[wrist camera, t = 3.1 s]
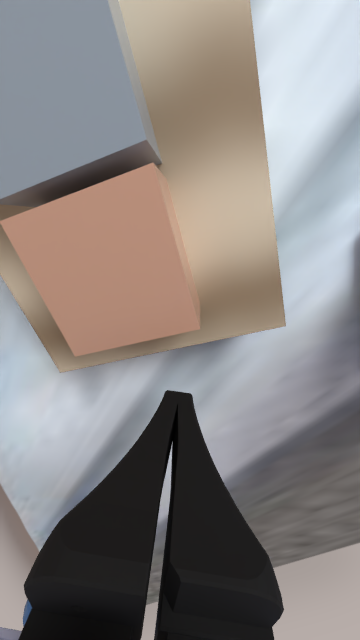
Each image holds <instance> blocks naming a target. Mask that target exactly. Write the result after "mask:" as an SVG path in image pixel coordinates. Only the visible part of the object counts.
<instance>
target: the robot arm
mask: <svg viewBox="0 0 360 640" xmlns="http://www.w3.org/2000/svg"><path fill="white" fill-rule="evenodd" d="M172 441H173V445H172ZM171 446H172V472H171V494H170V505H169V514H168V523H167V532H166V541H165V550H164V558H163V567H162V576H161V585H160V593H159V602H158V611H157V620H156V628H155V637H154V640H274V636H273V630H272V626H273V625H274V624H275V623H276V622H277V620H279V619H280V617H281V615H282V613H283V610H284V608H283V603H282V597H281V593H280V590H279V586H278V583H277V580H276V576H275V573H274V570H273V567H272V564H271V562H270V559H269V556H268V554H267V553H266V551H265V550H264V548H263V547H262V545H261V544H260V543H259V541H258V540H257V538H256V537H255V535H254V533H253V532H252V530H251V529H250V527H249V526H248V524H247V523H246V521H245V519H244V518H243V516H242V514H241V513H240V511H239V510H238V508H237V506H236V504H235V503H234V501H233V499H232V497H231V495H230V494H229V492H228V490H227V488H226V487H225V485H224V483H223V481H222V479H221V477H220V475H219V473H218V471H217V469H216V467H215V465H214V462H213V460H212V458H211V456H210V453H209V451H208V449H207V446H206V443H205V441H204V438H203V435H202V433H201V430H200V426H199V423H198V420H197V417H196V413H195V409H194V404H193V397H192V395H191V394H190V393H183V392H176V391H169V390H167V391H166V392H165V394H164V397H163V399H162V401H161V403H160V405H159V407H158V409H157V411H156V413H155V414H154V416H153V418H152V419H151V421H150V423H149V424H148V426H147V427H146V429H145V430H144V431H143V433H142V434H141V436H140V437H139V439H138V440H137V441H136V443H135V444H134V445H133V447H132V448H131V449H130V450H129V452H128V453H127V454H126V455H125V456H124V458H123V459H122V460H121V461H120V462H119V463H118V465H117V466H116V467H115V468H114V469H113V470H112V471H111V472H110V473H109V474H108V476H107V477H106V478H105V479H104V480H103V481H102V482H101V483H100V484H99V485H98V486H97V487H96V488H95V489H94V490H93V491H92V492H91V493H90V494H89V495H88V496H86V497H85V498H84V499H83V500H82V501H81V502H80V503H79V504H78V505H77V506H76V507H74V508H73V509H72V510H71V511H70V512H69V513H68V514H67V515H65V516H64V517H63V518H62V519H61V520H60V521H59V522H58V524H57V525H56V527H55V528H54V530H53V531H52V533H51V534H50V536H49V537H48V539H47V541H46V542H45V544H44V546H43V548H42V549H41V551H40V553H39V554H38V556H37V558H36V560H35V563H34V565H33V567H32V569H31V571H30V573H29V575H28V577H27V579H26V581H25V584H24V590H25V594H26V596H27V598H28V600H29V602H30V604H31V606H32V609H31V611H30V614H29V616H28V618H27V621H26V623H25V625H24V628H23V630H22V631H18V630H13V629H7V628H2V627H0V640H140V639H141V636H142V629H143V621H144V614H145V607H146V600H147V592H148V585H149V578H150V571H151V563H152V556H153V549H154V542H155V535H156V527H157V520H158V513H159V506H160V499H161V493H162V488H163V483H164V478H165V473H166V469H167V464H168V460H169V455H170V450H171Z"/></svg>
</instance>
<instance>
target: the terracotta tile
mask: <svg viewBox="0 0 360 640" xmlns="http://www.w3.org/2000/svg"><path fill="white" fill-rule="evenodd" d="M0 224H1V225H2V227H3V229H4V231H5V232H6V234H7V236H8V238H9V240H10V241H11V243H12V245H13V247H14V249H15V250H16V252H17V254H18V256H19V257H20V259H21V261H22V263H23V265H24V266H25V268H26V270H27V272H28V274H29V275H30V277H31V279H32V281H33V282H34V284H35V286H36V288H37V290H38V291H39V293H40V295H41V297H42V298H43V300H44V302H45V304H46V306H47V307H48V309H49V311H50V313H51V315H52V316H53V318H54V320H55V322H56V323H57V325H58V327H59V329H60V331H61V332H62V334H63V336H64V338H65V340H66V341H67V343H68V345H69V347H70V348H71V350H72V352H73V354H74V356H75V357H76V356H80V355H85V354H89V353H94V352H99V351H103V350H108V349H112V348H117V347H121V346H126V345H130V344H135V343H139V342H144V341H149V340H153V339H158V338H162V337H167V336H171V335H176V334H180V333H185V332H189V331H194V330H199V329H200V302H199V298H198V294H197V291H196V287H195V283H194V280H193V276H192V272H191V268H190V265H189V261H188V257H187V253H186V250H185V246H184V242H183V239H182V235H181V231H180V227H179V224H178V220H177V216H176V212H175V209H174V205H173V201H172V198H171V194H170V190H169V186H168V183H167V179H166V178H165V176H164V175H163V174H162V173H161V171H160V170H159V169H158V168H157V166H156V165H155V164H154V163H150V164H148V165H145V166H143V167H140V168H137V169H135V170H132V171H130V172H127V173H124V174H122V175H119V176H116V177H114V178H111V179H109V180H106V181H103V182H101V183H98V184H96V185H93V186H90V187H88V188H85V189H83V190H80V191H77V192H75V193H72V194H69V195H67V196H64V197H62V198H59V199H56V200H54V201H51V202H49V203H46V204H43V205H41V206H38V207H36V208H33V209H30V210H28V211H25V212H23V213H20V214H17V215H15V216H12V217H9V218H7V219H4V220H2V221H0Z"/></svg>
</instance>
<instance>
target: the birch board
mask: <svg viewBox="0 0 360 640" xmlns="http://www.w3.org/2000/svg"><path fill="white" fill-rule="evenodd" d="M119 4H120V7H121V11H122V15H123V19H124V22H125V26H126V30H127V34H128V37H129V41H130V45H131V48H132V52H133V56H134V60H135V63H136V67H137V71H138V75H139V78H140V82H141V86H142V89H143V93H144V97H145V101H146V104H147V108H148V112H149V116H150V119H151V123H152V127H153V130H154V134H155V138H156V142H157V145H158V149H159V153H160V157H161V160H162V163H161V164H159V165H156V166H157V168H158V169H159V170H160V171H161V173H162V174H163V175H164V176H165V178H166V179H167V183H168V186H169V190H170V194H171V198H172V201H173V205H174V209H175V212H176V216H177V220H178V224H179V227H180V231H181V235H182V239H183V242H184V246H185V250H186V253H187V257H188V261H189V265H190V268H191V272H192V276H193V280H194V283H195V287H196V291H197V294H198V298H199V302H200V329H199V330H194V331H189V332H185V333H180V334H176V335H171V336H167V337H162V338H158V339H153V340H149V341H144V342H139V343H135V344H130V345H126V346H121V347H117V348H112V349H108V350H103V351H99V352H94V353H89V354H85V355H80V356H76V357H75V356H74V354H73V352H72V350H71V348H70V347H69V345H68V343H67V341H66V340H65V338H64V336H63V334H62V332H61V331H60V329H59V327H58V325H57V323H56V322H55V320H54V318H53V316H52V315H51V313H50V311H49V309H48V307H47V306H46V304H45V302H44V300H43V298H42V297H41V295H40V293H39V291H38V290H37V288H36V286H35V284H34V282H33V281H32V279H31V277H30V275H29V274H28V272H27V270H26V268H25V266H24V265H23V263H22V261H21V259H20V257H19V256H18V254H17V252H16V250H15V249H14V247H13V245H12V243H11V241H10V240H9V238H8V236H7V234H6V232H5V231H4V229H3V227H2V225H1V224H0V275H1V276H2V278H3V280H4V281H5V283H6V285H7V286H8V288H9V289H10V291H11V293H12V294H13V296H14V298H15V299H16V301H17V303H18V304H19V306H20V307H21V309H22V311H23V312H24V314H25V316H26V317H27V319H28V320H29V322H30V324H31V325H32V327H33V329H34V330H35V332H36V334H37V335H38V337H39V338H40V340H41V342H42V343H43V345H44V347H45V348H46V350H47V352H48V353H49V355H50V356H51V358H52V360H53V361H54V363H55V365H56V366H57V368H58V369H59V371H60V373H61V372H66V371H71V370H76V369H81V368H86V367H90V366H95V365H100V364H105V363H110V362H115V361H119V360H124V359H129V358H134V357H139V356H144V355H148V354H153V353H158V352H163V351H168V350H173V349H177V348H182V347H187V346H192V345H197V344H202V343H206V342H211V341H216V340H221V339H226V338H231V337H235V336H240V335H245V334H250V333H255V332H259V331H264V330H269V329H274V328H279V327H284V326H286V323H285V314H284V305H283V296H282V287H281V278H280V269H279V260H278V251H277V242H276V233H275V223H274V214H273V205H272V196H271V187H270V178H269V169H268V160H267V151H266V142H265V133H264V124H263V115H262V106H261V97H260V88H259V79H258V70H257V61H256V52H255V43H254V34H253V25H252V16H251V7H250V0H119ZM33 208H36V207H26V206H13V205H1V204H0V221H2V220H4V219H7V218H9V217H12V216H15V215H17V214H20V213H23V212H25V211H28V210H30V209H33Z"/></svg>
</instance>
